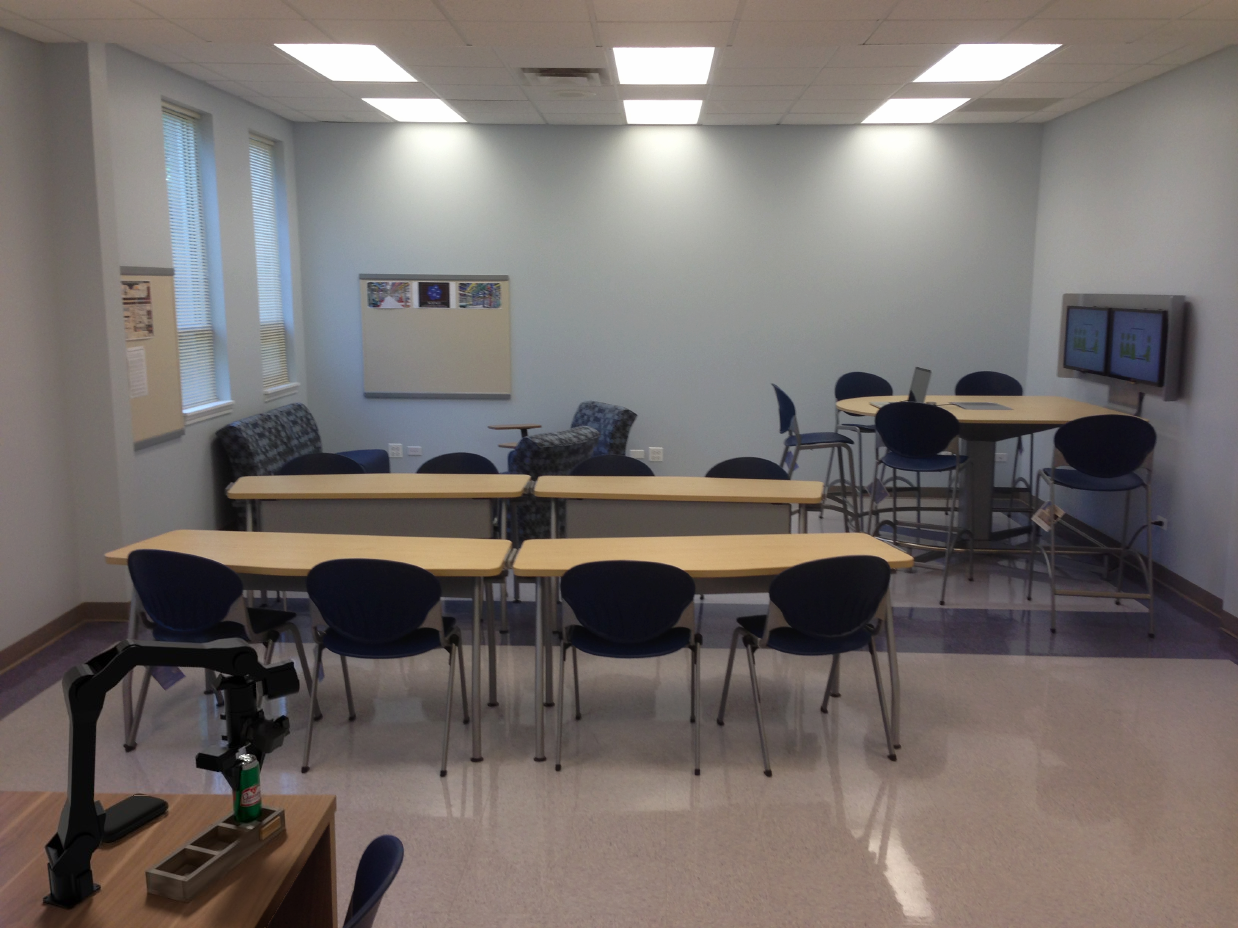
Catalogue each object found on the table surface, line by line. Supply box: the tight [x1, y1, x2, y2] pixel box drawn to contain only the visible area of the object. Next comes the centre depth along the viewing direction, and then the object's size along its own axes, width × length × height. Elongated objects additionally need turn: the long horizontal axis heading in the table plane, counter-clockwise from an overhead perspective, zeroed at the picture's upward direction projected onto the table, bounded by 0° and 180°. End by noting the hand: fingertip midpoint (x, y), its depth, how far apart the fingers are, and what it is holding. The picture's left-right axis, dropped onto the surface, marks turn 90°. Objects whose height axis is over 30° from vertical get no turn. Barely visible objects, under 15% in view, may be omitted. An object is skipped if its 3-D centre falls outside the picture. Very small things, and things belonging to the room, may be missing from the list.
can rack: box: [144, 803, 287, 904], centre depth 176 cm, size 10×25×4 cm, turn 160°
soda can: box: [231, 753, 263, 824], centre depth 182 cm, size 5×5×12 cm
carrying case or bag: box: [101, 793, 170, 844], centre depth 189 cm, size 11×3×15 cm
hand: (246, 784), depth 182 cm, fingers closed on soda can, 5 cm apart
